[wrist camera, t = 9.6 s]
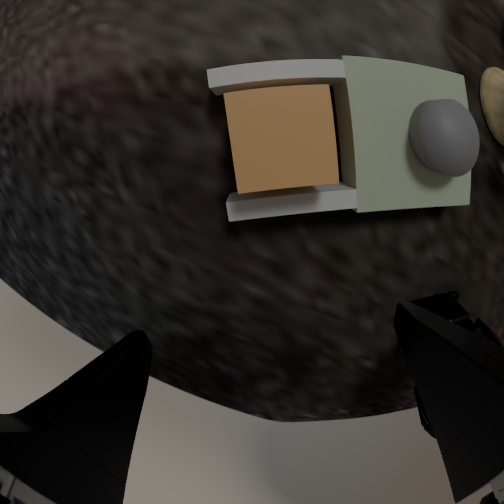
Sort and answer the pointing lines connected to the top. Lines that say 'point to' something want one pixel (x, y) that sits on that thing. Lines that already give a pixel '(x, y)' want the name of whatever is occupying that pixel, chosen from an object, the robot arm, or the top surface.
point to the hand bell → (493, 101)
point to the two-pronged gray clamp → (372, 135)
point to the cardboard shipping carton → (282, 137)
